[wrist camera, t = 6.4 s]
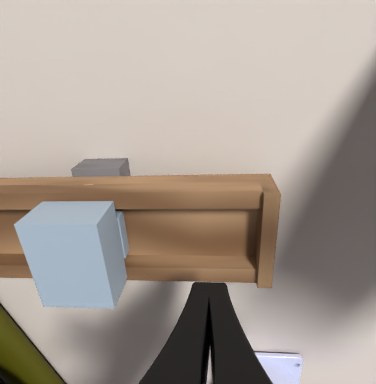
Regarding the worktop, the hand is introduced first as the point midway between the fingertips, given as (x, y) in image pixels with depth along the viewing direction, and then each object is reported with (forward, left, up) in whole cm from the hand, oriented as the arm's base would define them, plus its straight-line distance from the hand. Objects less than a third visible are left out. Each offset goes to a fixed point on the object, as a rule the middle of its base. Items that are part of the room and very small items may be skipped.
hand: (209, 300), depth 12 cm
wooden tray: (0, +7, -9) cm, 11 cm away
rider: (0, +7, -5) cm, 9 cm away
